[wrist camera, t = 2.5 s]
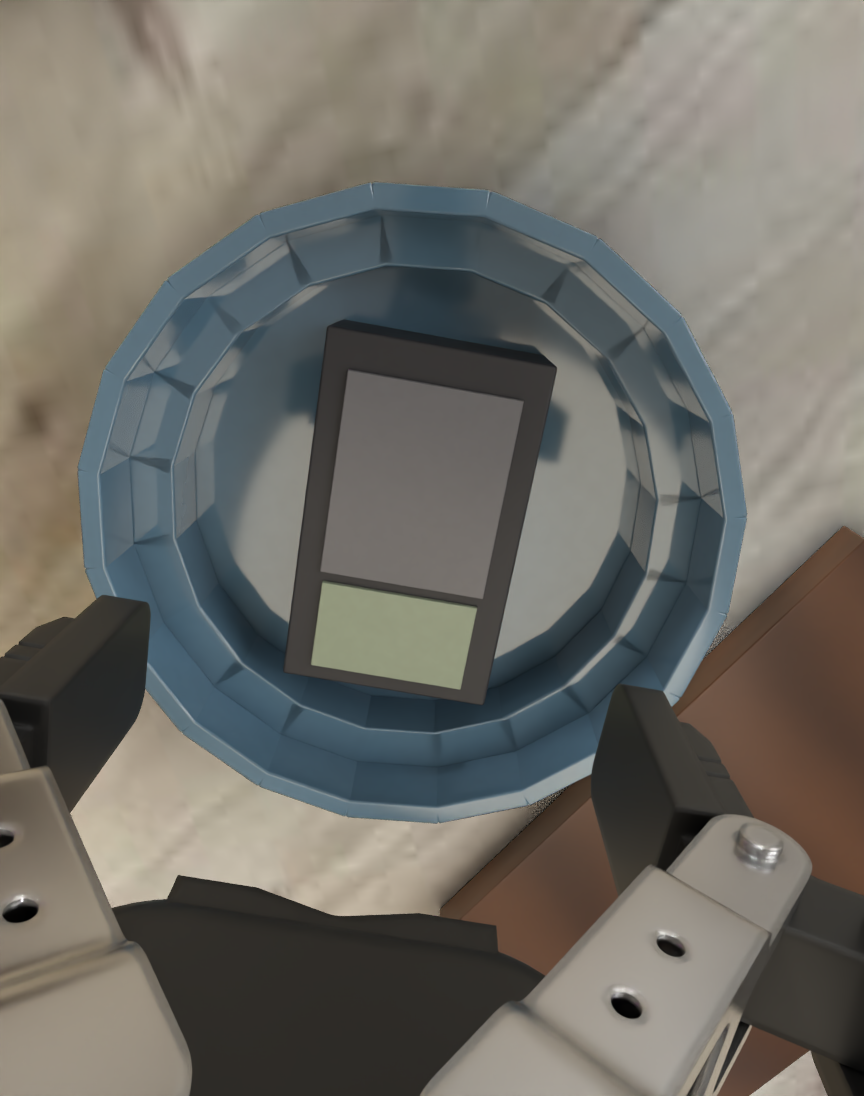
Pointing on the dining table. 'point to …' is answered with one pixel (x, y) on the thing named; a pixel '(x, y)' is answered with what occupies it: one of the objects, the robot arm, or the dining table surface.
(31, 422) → the dining table surface
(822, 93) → the dining table surface
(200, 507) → the bowl
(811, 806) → the board
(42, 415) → the dining table surface
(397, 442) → the calculator
